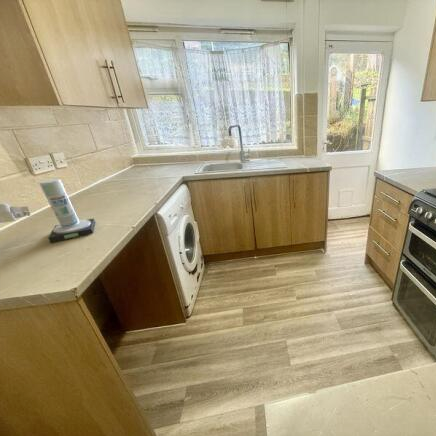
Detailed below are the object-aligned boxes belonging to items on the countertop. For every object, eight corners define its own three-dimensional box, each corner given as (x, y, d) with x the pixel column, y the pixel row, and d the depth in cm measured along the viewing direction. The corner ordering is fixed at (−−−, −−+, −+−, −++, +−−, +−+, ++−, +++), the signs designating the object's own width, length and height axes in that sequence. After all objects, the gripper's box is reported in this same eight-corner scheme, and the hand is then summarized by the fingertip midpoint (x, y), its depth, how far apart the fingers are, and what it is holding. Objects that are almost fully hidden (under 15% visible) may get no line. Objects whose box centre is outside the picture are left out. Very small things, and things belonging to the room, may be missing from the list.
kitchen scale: (50, 243, 98) (46, 236, 97) (57, 230, 109) (54, 224, 108) (93, 234, 105) (90, 227, 104) (95, 222, 116) (93, 216, 115)
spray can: (61, 229, 102) (38, 184, 94) (60, 225, 107) (38, 181, 98) (81, 224, 106) (60, 180, 98) (79, 220, 111) (59, 177, 102)
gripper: (-17, 228, 98) (32, 222, 108) (-30, 220, 84) (29, 213, 94) (-21, 213, 98) (29, 208, 108) (-34, 202, 84) (25, 198, 94)
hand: (29, 211), depth 101 cm, fingers open, 8 cm apart
